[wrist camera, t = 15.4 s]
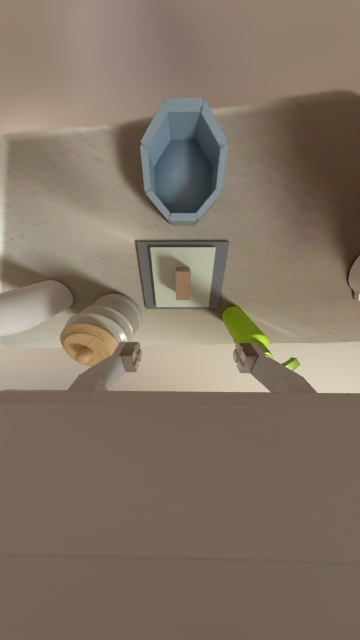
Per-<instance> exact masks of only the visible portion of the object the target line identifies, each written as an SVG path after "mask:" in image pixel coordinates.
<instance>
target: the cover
mask: <svg viewBox="0 0 360 640" xmlns="http://www.w3.org/2000/svg"><path fill="white" fill-rule="evenodd" d="M150 250H151V260H152V270H153V280H154V290H155V299H156V307H209V299H210V291H211V283H212V275H213V266H214V258H215V250H216V247H150Z"/></svg>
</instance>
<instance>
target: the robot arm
mask: <svg viewBox="0 0 360 640" xmlns="http://www.w3.org/2000/svg"><path fill="white" fill-rule="evenodd" d="M348 280H349V285H350V287H351V288H352V289H353V291H354V299H355V300H358V301H360V255H359V256H358V258H357V259H356V261H355V262H354V264H353V266H352V268H351V270H350V273H349V279H348ZM235 347H236V349H235V350H234V352H233V357H234V360H235V362H236V363H238V365H237V367H238V369H239V371H240V373H251V374H252V375H253V376H254V377H255V378H256V379H257V380H258V381H259V382H260V383H262V384H263V385H264V386H265V387H266V388H267V389H268V390H269V391H270V392H271V393H266V392H265V393H263V392H175V391H108V389H110V388H111V386H112V385H113V384H115V383H116V382H117V381H118V380H119V379H120V378H121V377H122V376H123V375H124V374H125V373H126V372H136V371H137V368H138V362H139V361H140V360H141V354H142V352H141V349H140V343H139V342H120V343H119V345H118V346H117V348H116V349H115V351H114V353H113V354H112V356H108V357H107V358H105V359H104V360H102V361H101V362H99V363H97V364H96V365H94V366H93V367H91V368H89V369H88V370H86V371H85V372H83V373H82V374H80V375H79V376H78V377H77V379H76V380H75V381H74V382H73V384H72V385H71V386H70V388H69V389H68V390H3V391H0V640H360V393H356V394H355V393H353V394H351V393H317V392H316V391H315V390H314V389H313V388H312V387H311V385H310V384H309V383H308V382H307V381H306V380H305V379H304V378H303V377H302V376H300V375H298V374H297V373H295V372H293V371H292V370H290V369H288V368H287V367H285V366H283V365H282V364H280V363H278V362H277V361H275V360H273V359H271V358H270V357H267V356H266V355H265V354H264V352H263V351H262V350H261V348H260V347H259V346H258V344H257V343H236V345H235Z"/></svg>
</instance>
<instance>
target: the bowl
mask: <svg viewBox="0 0 360 640" xmlns="http://www.w3.org/2000/svg"><path fill="white" fill-rule="evenodd" d="M165 100H166V104H165V103H164V101H162V103H161V104H160V106H159V108H158V110H157V112H156V114H155V116H154V117H153V119H152V121H151V123H150V125H149V127H148V129H147V130H146V132H145V134H144V136H143V138H142V140H141V144H142V145H140V151H141V161H142V171H143V181H144V190H145V192H146V195H147V196H148V198H149V199H150V201H151V202H152V203H153V204H154V206H155V207H156V208H157V209H158V210H159V212H160V213H161V214H162V215H163V216H164V218H165V219H166V220H167V221H168V222H169V223H170V224H171V225H194V224H196V223H197V222H198V221H199V219H200V218H201V217H202V216H203V215H204V214H205V212H206V211H207V210H208V209H209V208H210V207H211V205H212V204H213V203H214V202H215V201H216V199H217V198H218V197H219V196H220V195H221V192H222V190H223V182H224V174H225V165H226V157H227V149H228V145H226V143H227V139H226V137H225V135H224V134H223V132H222V130H221V128H220V126H219V124H218V122H217V120H216V118H215V116H214V115H213V113H212V111H211V109H210V107H209V105H208V103H207V101H206V100H205V102H204V103H203V98H165Z"/></svg>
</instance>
